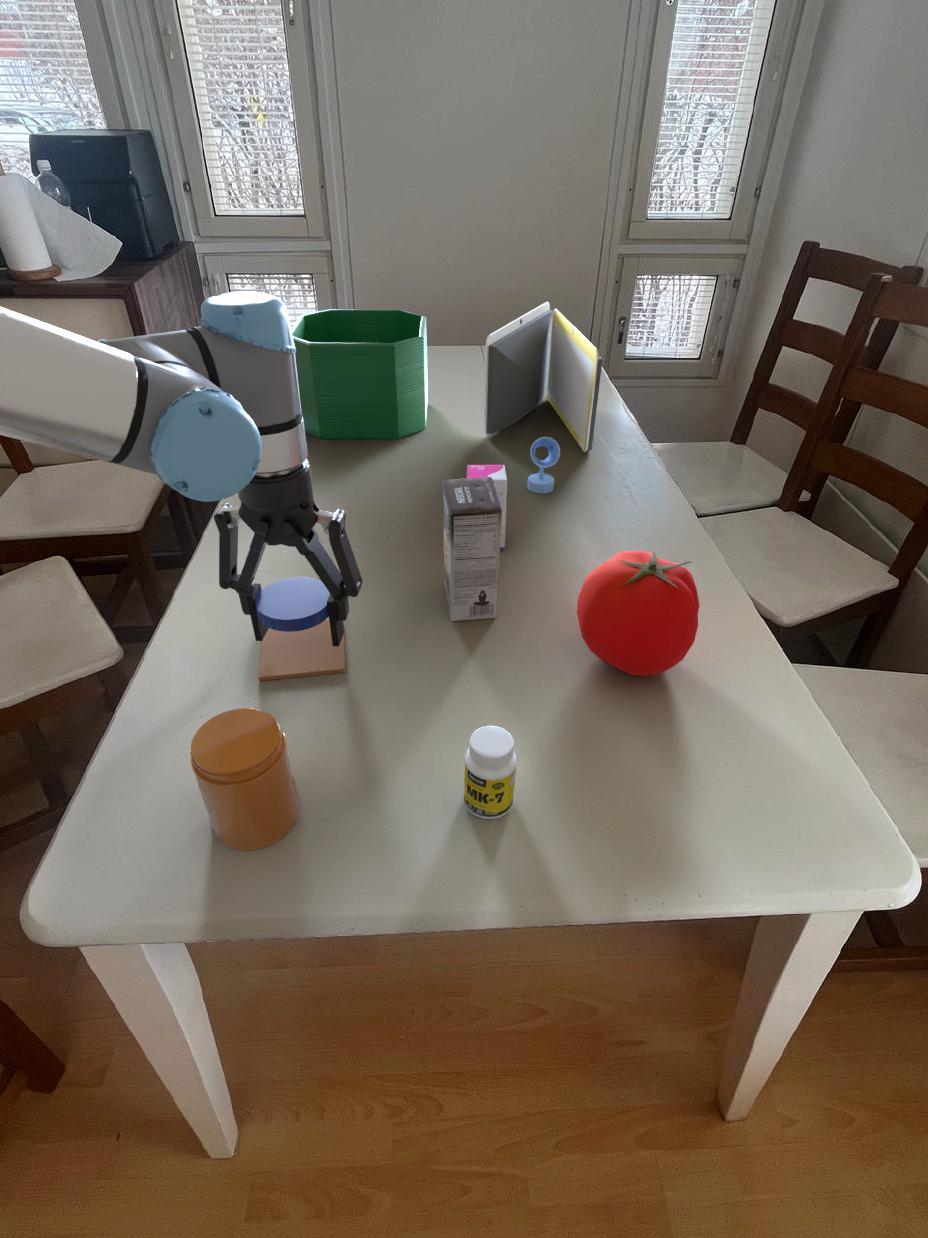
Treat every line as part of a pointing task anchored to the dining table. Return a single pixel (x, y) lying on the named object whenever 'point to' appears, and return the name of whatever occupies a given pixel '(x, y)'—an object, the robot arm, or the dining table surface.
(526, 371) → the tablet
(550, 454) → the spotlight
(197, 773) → the jar
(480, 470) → the supplement box
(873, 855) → the dining table surface
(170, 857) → the dining table surface
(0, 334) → the robot arm
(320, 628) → the coaster
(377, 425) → the planter
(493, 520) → the coffee box
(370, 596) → the dining table surface
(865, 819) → the dining table surface
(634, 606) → the tomato
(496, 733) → the supplement bottle
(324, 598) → the lid
